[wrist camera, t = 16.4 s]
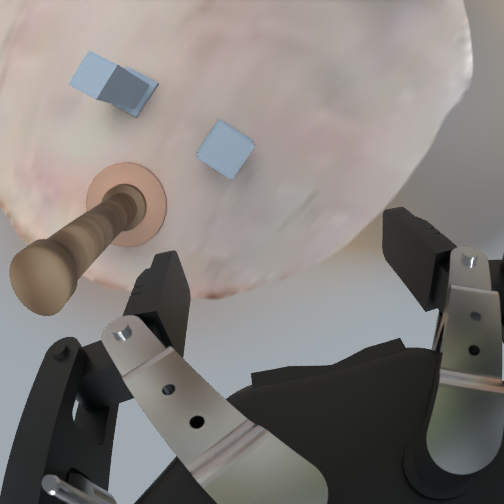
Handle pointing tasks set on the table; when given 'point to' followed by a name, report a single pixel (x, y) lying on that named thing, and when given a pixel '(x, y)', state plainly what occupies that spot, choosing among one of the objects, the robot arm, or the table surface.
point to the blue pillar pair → (135, 97)
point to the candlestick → (73, 250)
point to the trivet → (145, 184)
